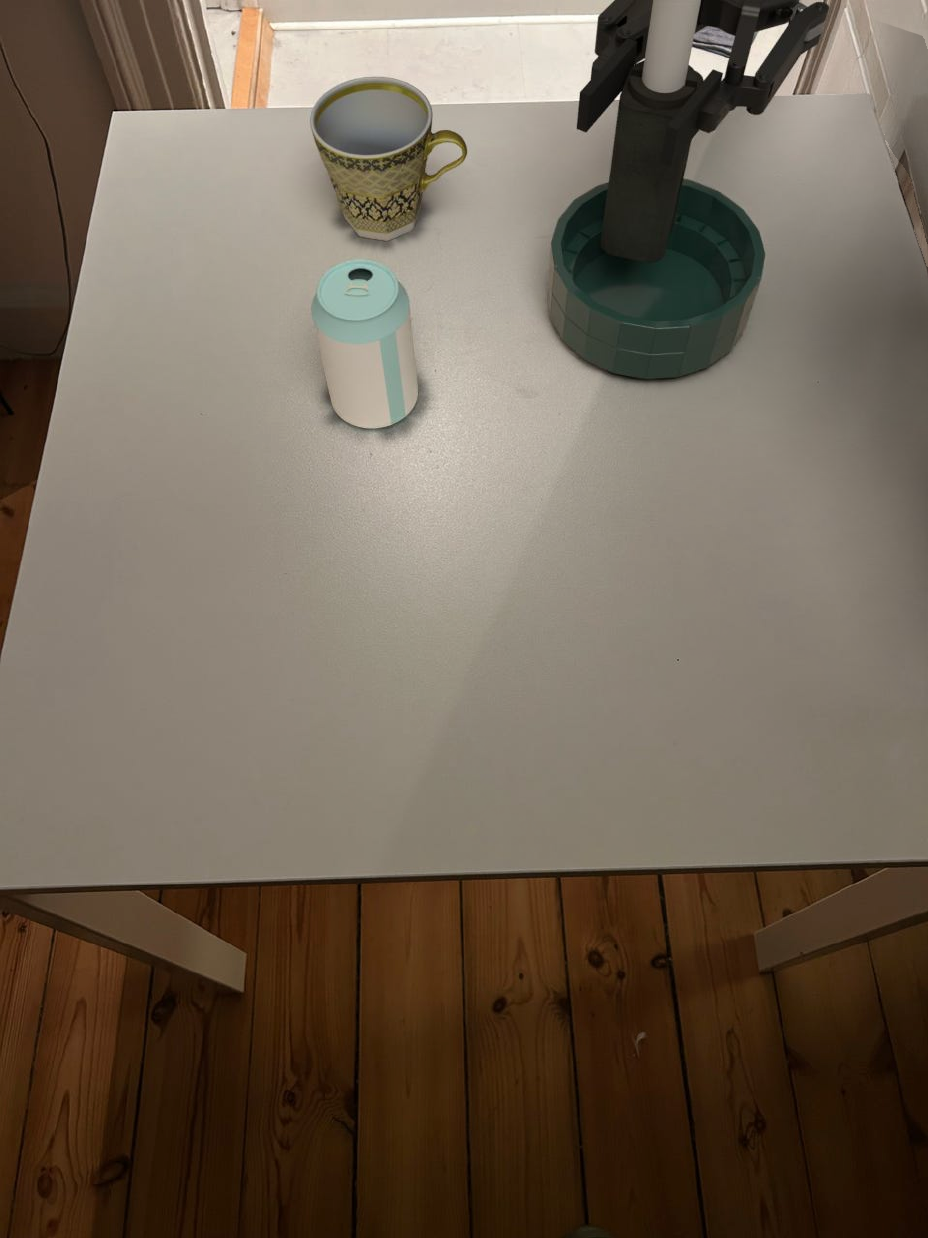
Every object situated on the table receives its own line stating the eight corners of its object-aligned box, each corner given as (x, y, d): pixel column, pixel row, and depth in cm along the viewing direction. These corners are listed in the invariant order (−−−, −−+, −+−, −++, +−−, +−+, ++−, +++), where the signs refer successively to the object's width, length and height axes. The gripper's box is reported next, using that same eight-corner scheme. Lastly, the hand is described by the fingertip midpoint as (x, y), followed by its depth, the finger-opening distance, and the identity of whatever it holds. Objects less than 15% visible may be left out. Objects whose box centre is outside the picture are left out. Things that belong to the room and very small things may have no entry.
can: (315, 390, 81) (289, 278, 70) (389, 351, 82) (373, 237, 72) (360, 447, 78) (339, 341, 67) (435, 407, 80) (426, 296, 69)
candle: (660, 266, 77) (731, -81, 55) (597, 251, 78) (641, -96, 55) (675, 221, 79) (750, -131, 57) (613, 207, 80) (662, -144, 57)
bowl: (777, 283, 85) (799, 222, 79) (689, 416, 79) (705, 360, 73) (607, 212, 89) (615, 149, 83) (510, 332, 83) (512, 273, 77)
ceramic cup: (313, 245, 88) (293, 147, 79) (346, 169, 92) (330, 68, 83) (455, 268, 86) (451, 170, 77) (481, 190, 91) (480, 88, 82)
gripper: (877, 38, 74) (742, 228, 66) (655, -38, 79) (503, 130, 71) (916, -69, 68) (771, 127, 59) (671, -145, 72) (505, 27, 64)
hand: (625, 128), depth 65 cm, fingers closed on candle, 6 cm apart
